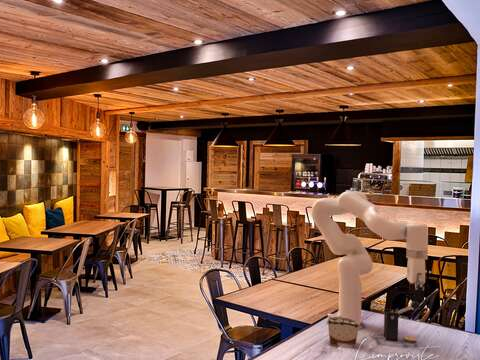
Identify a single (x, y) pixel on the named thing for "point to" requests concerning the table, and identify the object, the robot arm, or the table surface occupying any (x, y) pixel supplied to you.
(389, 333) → the black upright box
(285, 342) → the table surface
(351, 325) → the food container
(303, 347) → the table surface
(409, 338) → the cake
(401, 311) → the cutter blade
